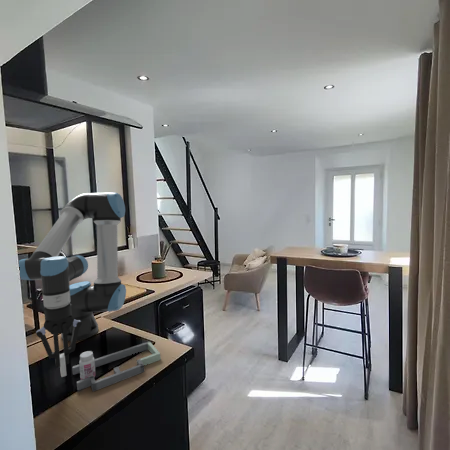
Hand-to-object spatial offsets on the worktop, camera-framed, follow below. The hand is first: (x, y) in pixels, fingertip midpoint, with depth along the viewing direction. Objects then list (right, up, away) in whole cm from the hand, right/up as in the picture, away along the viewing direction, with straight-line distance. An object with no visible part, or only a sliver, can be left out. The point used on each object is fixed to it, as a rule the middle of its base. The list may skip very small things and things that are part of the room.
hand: (63, 374), depth 93 cm
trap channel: (+15, -3, +9) cm, 18 cm away
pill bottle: (+6, -4, +5) cm, 8 cm away
